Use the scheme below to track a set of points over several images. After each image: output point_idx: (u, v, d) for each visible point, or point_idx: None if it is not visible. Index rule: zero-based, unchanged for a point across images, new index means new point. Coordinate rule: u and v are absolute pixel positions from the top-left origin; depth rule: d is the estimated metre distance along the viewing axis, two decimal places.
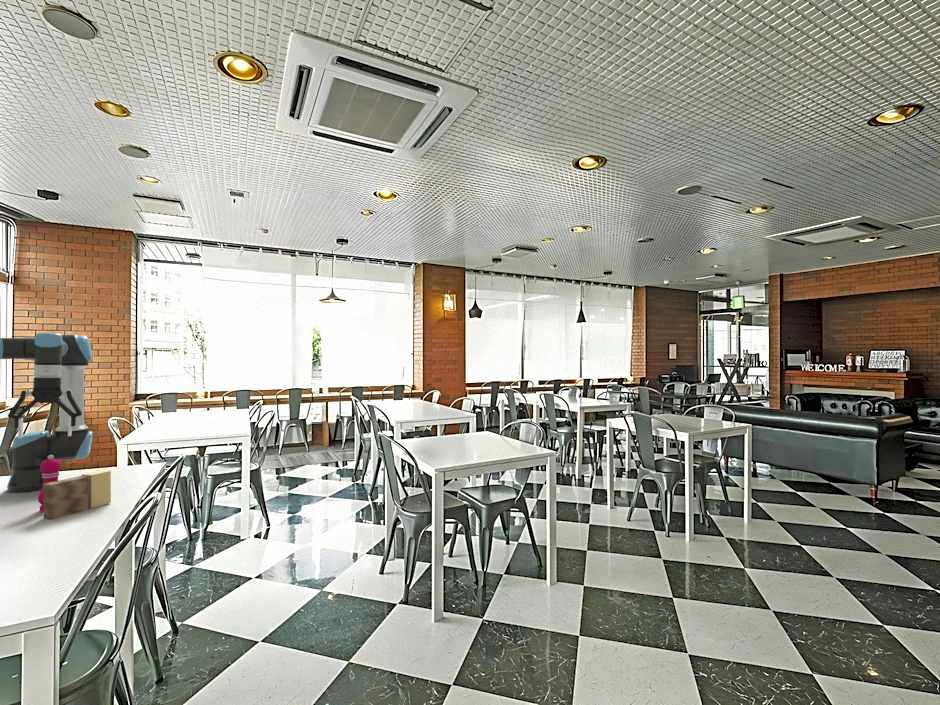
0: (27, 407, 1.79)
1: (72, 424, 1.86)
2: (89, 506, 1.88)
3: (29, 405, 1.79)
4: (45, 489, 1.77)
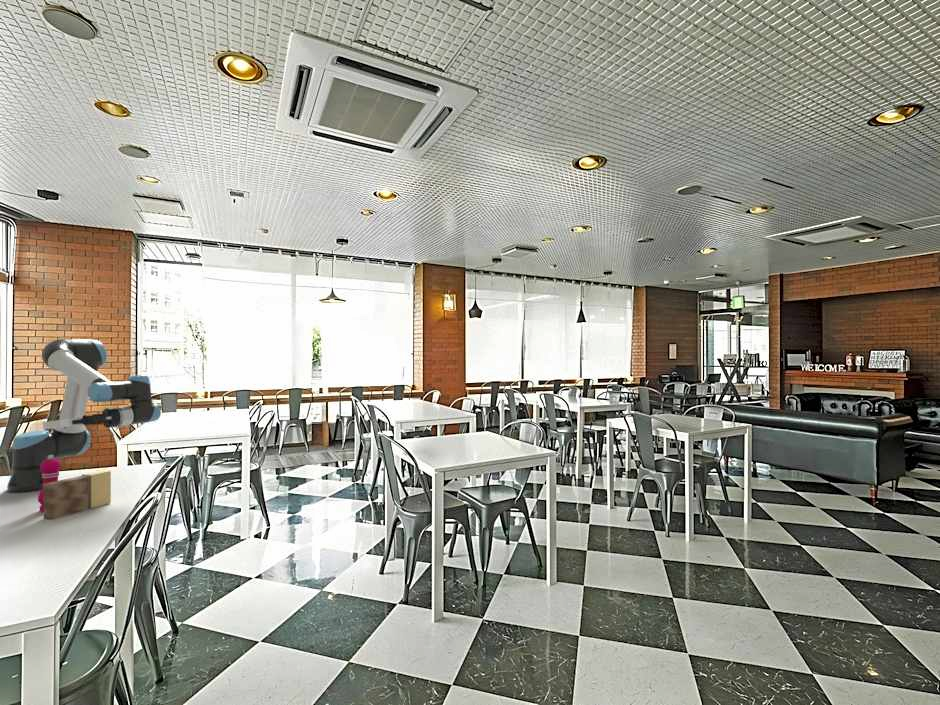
0: None
1: None
2: (89, 506, 1.88)
3: (93, 422, 1.92)
4: (45, 489, 1.77)
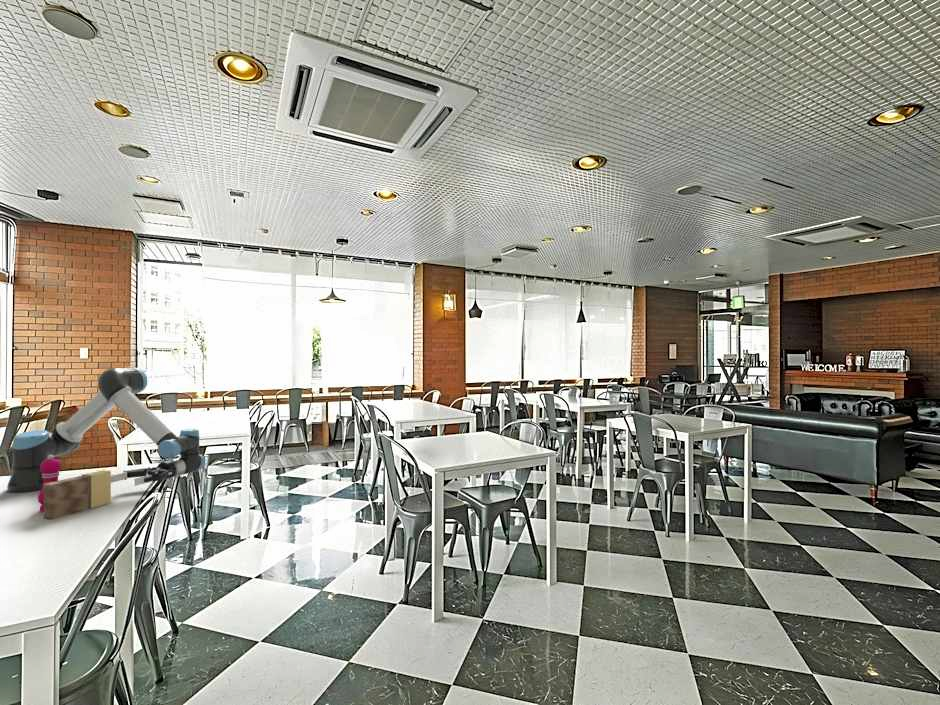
0: None
1: None
2: (89, 506, 1.88)
3: None
4: (45, 489, 1.77)
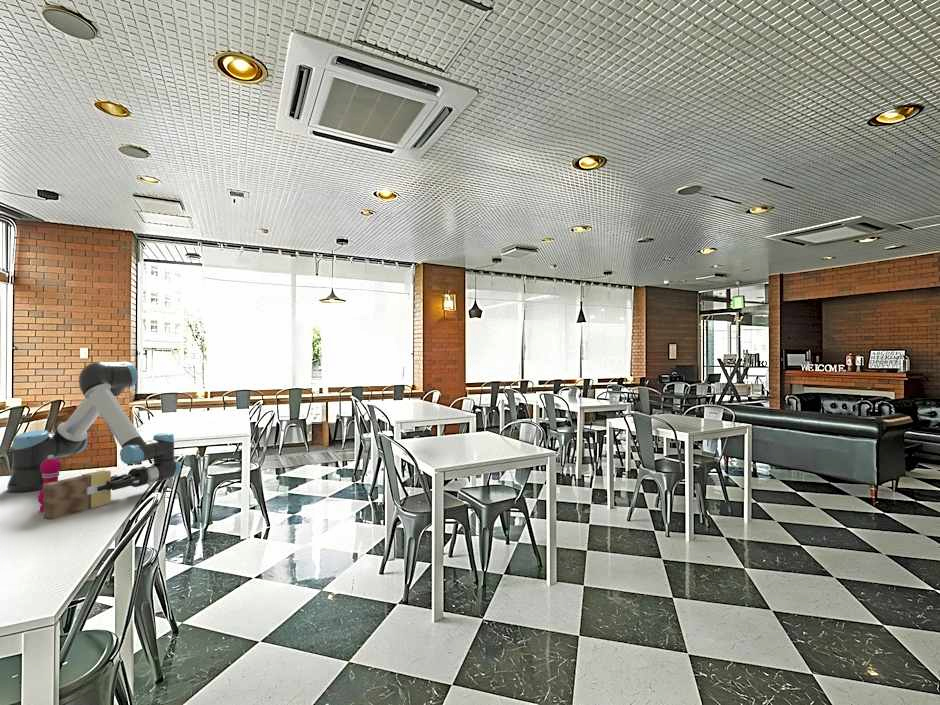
0: None
1: None
2: (89, 506, 1.88)
3: None
4: (45, 489, 1.77)
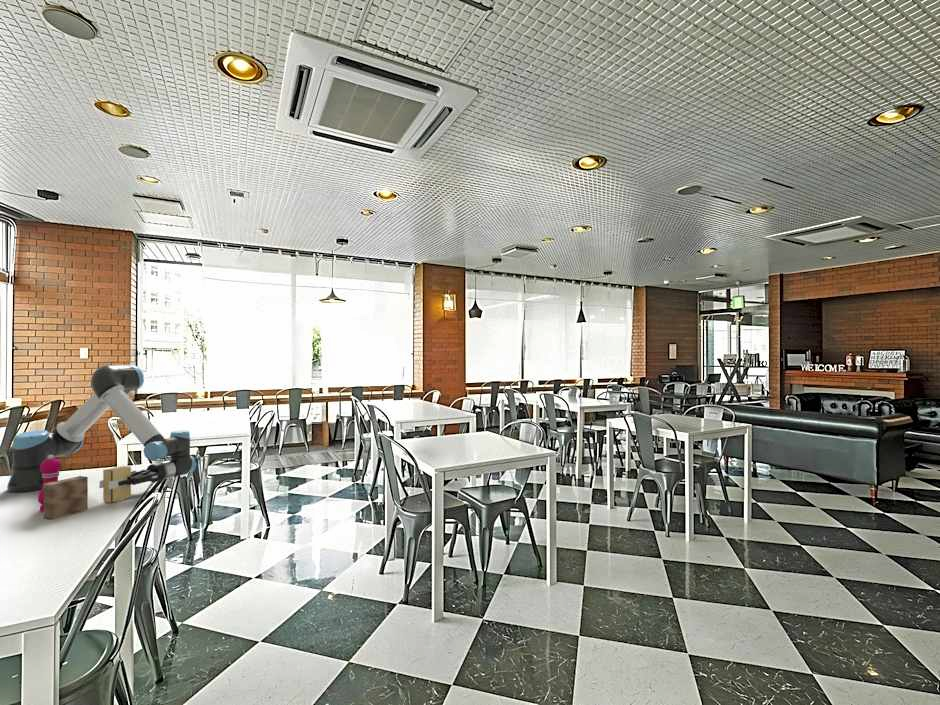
0: None
1: None
2: (111, 500, 1.96)
3: None
4: (45, 489, 1.77)
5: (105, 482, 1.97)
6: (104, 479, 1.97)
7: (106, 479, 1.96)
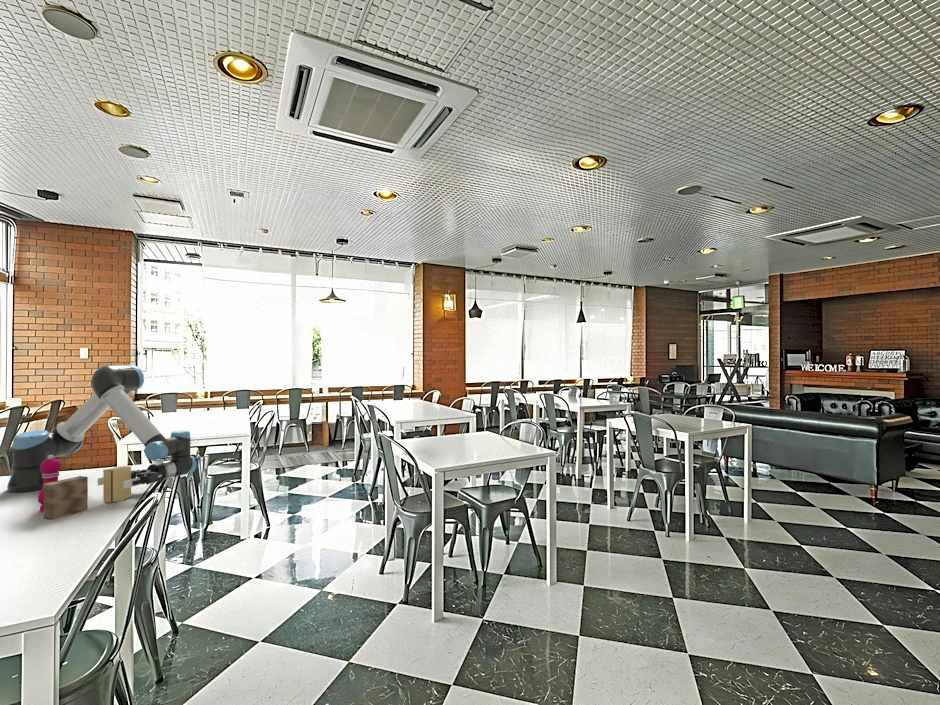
0: None
1: None
2: (111, 500, 1.96)
3: None
4: (45, 489, 1.77)
5: (105, 482, 1.97)
6: (104, 479, 1.97)
7: (106, 479, 1.97)
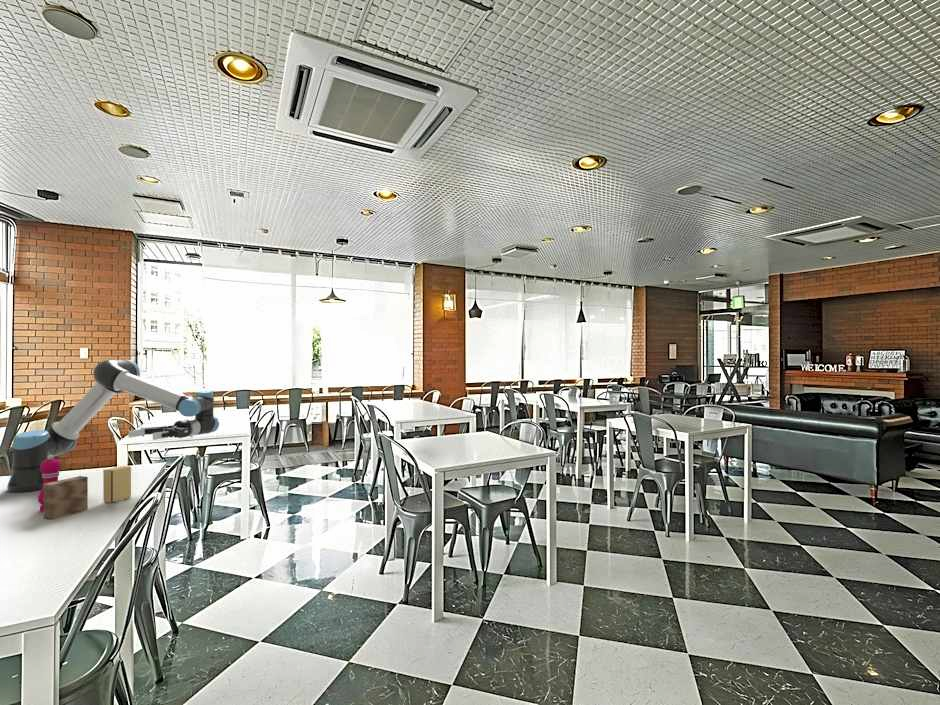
0: None
1: None
2: (111, 500, 1.96)
3: None
4: (45, 489, 1.77)
5: (105, 482, 1.97)
6: (104, 479, 1.97)
7: (106, 479, 1.97)
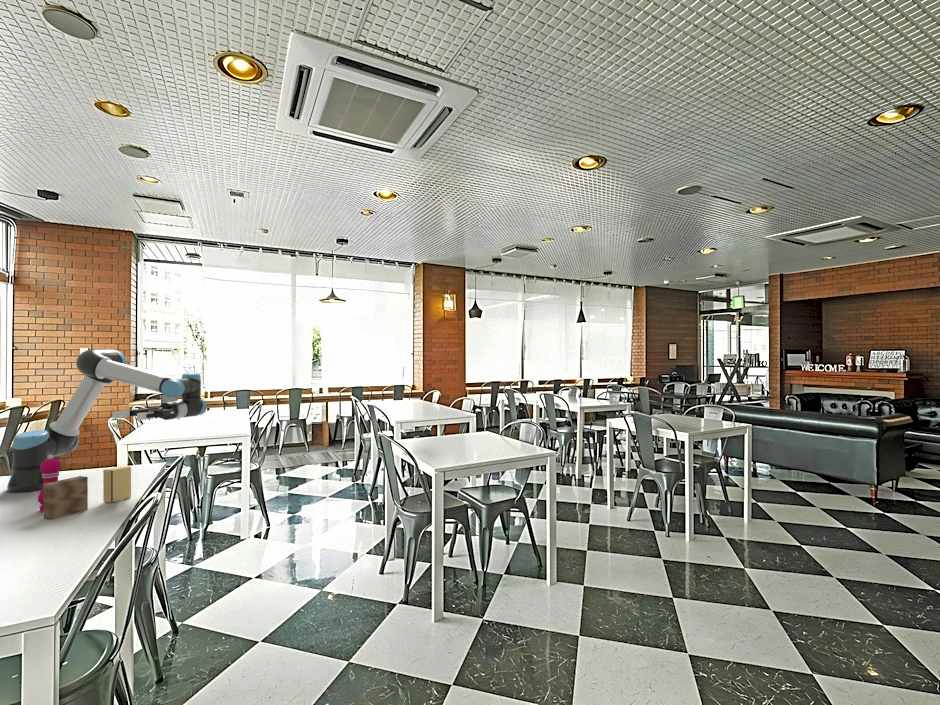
0: None
1: None
2: (111, 500, 1.96)
3: None
4: (45, 489, 1.77)
5: (105, 482, 1.97)
6: (104, 479, 1.97)
7: (106, 479, 1.97)
